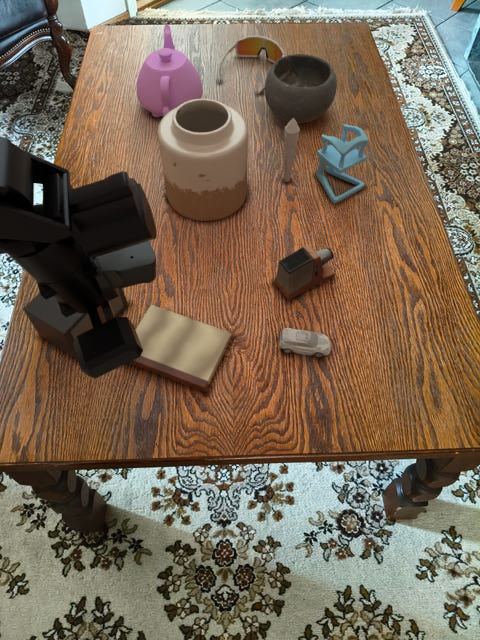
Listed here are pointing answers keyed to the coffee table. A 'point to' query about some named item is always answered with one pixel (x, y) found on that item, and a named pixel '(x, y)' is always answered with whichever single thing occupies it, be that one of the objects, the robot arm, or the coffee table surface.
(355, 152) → the blue-grey angular frame piece
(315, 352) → the toy car
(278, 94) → the bowl
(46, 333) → the block
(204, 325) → the notebook
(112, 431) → the coffee table surface
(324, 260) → the electronic device
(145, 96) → the teapot
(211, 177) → the vase
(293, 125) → the grey pointed post
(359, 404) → the coffee table surface
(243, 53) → the sunglasses
